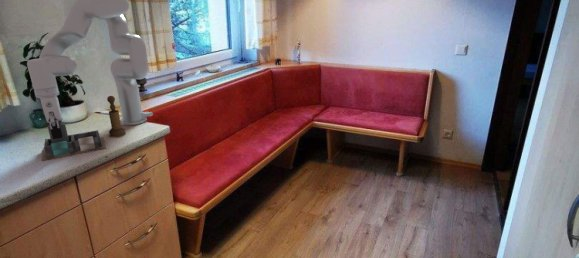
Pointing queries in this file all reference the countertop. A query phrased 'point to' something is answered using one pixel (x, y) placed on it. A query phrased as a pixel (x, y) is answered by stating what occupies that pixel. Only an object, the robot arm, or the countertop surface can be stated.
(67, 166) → the countertop surface
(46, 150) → the socket block
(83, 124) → the countertop surface
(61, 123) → the bottle
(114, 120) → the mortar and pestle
